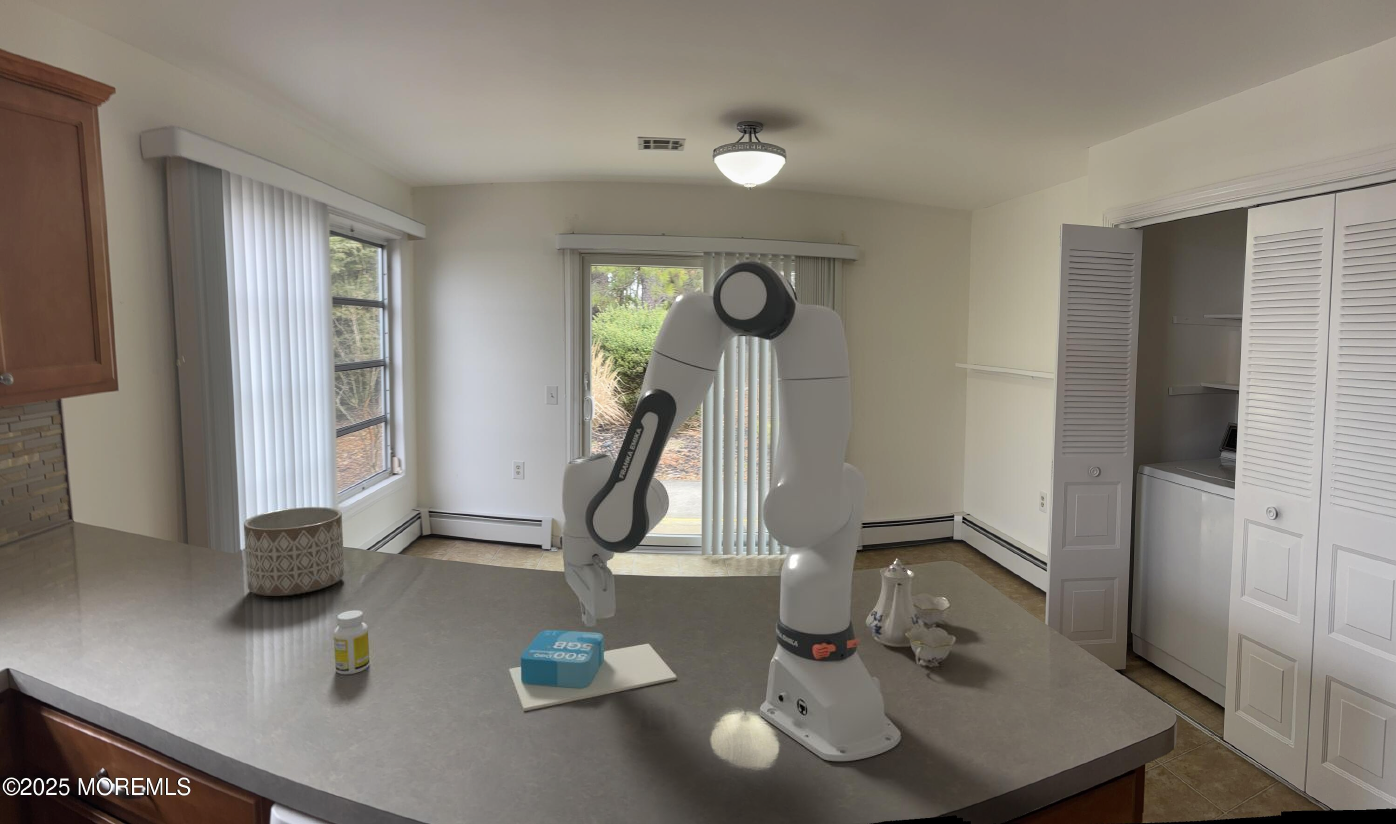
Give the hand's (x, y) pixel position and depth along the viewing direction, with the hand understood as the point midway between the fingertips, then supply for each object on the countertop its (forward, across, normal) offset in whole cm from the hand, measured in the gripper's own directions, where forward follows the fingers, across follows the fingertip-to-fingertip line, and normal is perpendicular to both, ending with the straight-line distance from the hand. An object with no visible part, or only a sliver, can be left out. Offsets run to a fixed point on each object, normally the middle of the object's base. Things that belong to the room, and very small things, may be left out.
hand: (589, 623), depth 122 cm
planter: (+8, +65, +51) cm, 83 cm away
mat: (+8, -2, 0) cm, 9 cm away
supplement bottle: (+9, +17, +38) cm, 43 cm away
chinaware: (+9, -12, -61) cm, 63 cm away
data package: (+6, +6, +1) cm, 8 cm away
